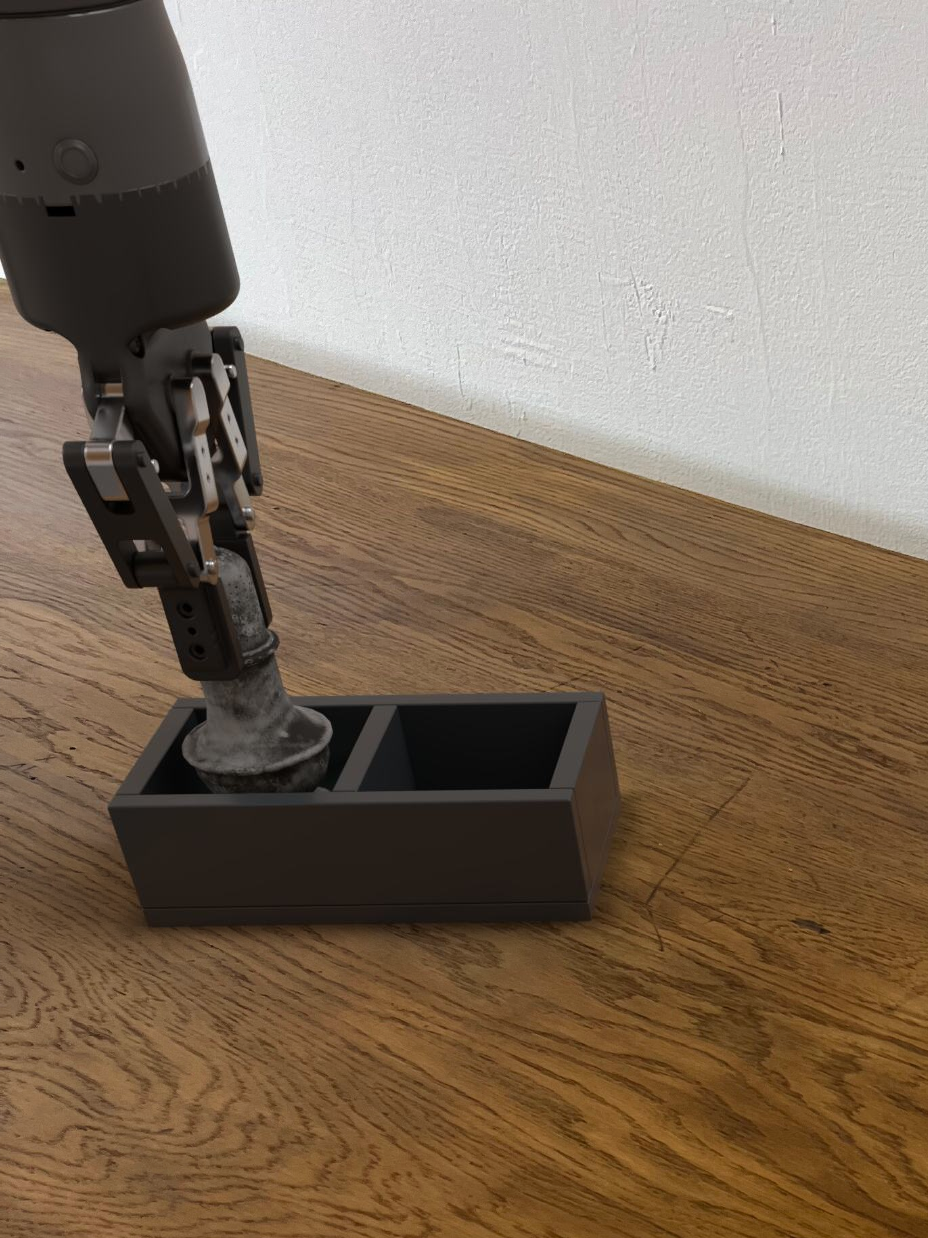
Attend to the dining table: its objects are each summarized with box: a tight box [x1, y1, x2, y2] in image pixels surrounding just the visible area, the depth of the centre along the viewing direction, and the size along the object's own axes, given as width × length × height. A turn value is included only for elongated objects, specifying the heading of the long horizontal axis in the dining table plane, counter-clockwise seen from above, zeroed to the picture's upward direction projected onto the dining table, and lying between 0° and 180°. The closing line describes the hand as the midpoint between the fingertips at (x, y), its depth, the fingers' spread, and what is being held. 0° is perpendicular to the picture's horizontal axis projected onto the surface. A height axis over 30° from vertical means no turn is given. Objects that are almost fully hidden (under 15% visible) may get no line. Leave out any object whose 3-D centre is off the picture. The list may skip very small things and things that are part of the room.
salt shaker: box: [182, 546, 333, 794], centre depth 81 cm, size 6×6×12 cm
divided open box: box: [106, 691, 624, 928], centre depth 85 cm, size 10×18×6 cm, turn 90°
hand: (230, 651), depth 81 cm, fingers closed on salt shaker, 3 cm apart
